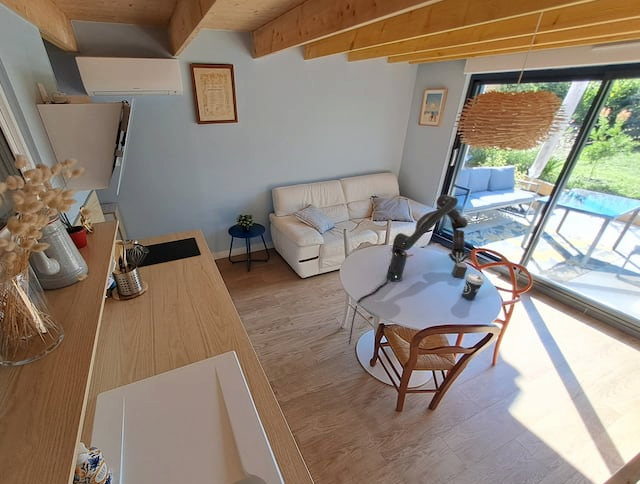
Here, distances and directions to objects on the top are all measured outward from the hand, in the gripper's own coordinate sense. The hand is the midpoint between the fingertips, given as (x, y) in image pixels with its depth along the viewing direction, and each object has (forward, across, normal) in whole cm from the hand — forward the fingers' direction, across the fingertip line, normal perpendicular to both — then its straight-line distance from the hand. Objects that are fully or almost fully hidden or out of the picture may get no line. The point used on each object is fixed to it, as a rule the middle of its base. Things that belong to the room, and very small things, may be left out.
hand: (457, 267), depth 203 cm
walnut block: (+6, 0, 0) cm, 6 cm away
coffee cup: (+24, 0, -17) cm, 30 cm away
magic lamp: (-1, -38, +8) cm, 39 cm away
